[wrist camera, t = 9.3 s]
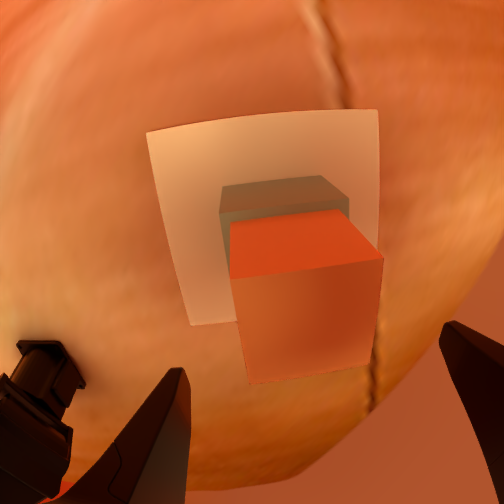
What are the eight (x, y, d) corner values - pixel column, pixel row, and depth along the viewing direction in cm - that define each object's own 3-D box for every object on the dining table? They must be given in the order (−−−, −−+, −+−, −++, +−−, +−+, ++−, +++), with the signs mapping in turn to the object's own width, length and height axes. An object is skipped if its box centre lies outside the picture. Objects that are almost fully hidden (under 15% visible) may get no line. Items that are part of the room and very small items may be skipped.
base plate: (192, 316, 24) (190, 325, 23) (150, 131, 18) (145, 133, 17) (367, 292, 24) (372, 300, 23) (369, 109, 18) (377, 109, 17)
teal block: (235, 273, 21) (237, 320, 16) (222, 186, 18) (218, 213, 14) (323, 262, 21) (346, 304, 16) (321, 175, 18) (349, 198, 14)
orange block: (244, 311, 16) (249, 384, 12) (230, 222, 14) (229, 279, 10) (337, 297, 16) (369, 363, 12) (338, 208, 14) (383, 257, 10)
